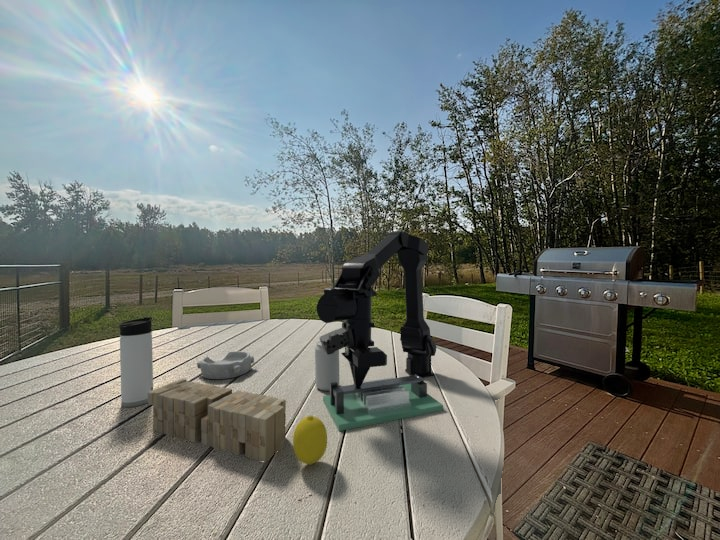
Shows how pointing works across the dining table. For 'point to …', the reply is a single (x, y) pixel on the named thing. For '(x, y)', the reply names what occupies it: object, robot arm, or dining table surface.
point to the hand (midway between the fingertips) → (357, 386)
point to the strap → (379, 384)
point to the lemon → (310, 440)
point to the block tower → (220, 417)
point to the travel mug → (136, 361)
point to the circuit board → (359, 416)
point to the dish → (226, 365)
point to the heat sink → (379, 397)
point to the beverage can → (326, 368)
